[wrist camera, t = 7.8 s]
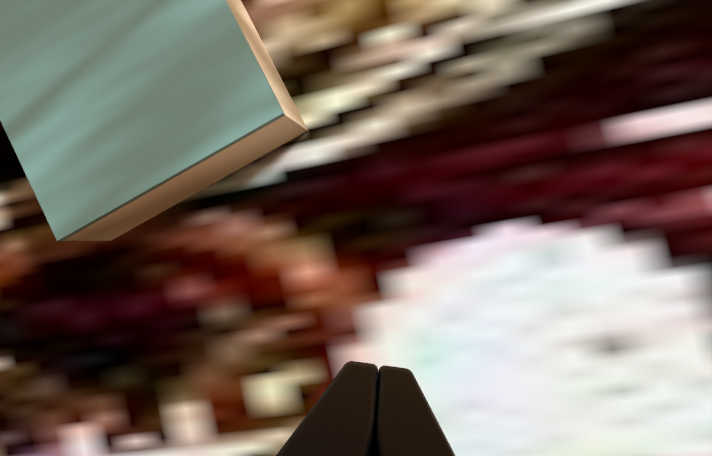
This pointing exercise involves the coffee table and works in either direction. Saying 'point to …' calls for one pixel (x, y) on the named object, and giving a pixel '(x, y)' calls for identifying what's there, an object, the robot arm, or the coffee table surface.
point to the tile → (134, 105)
